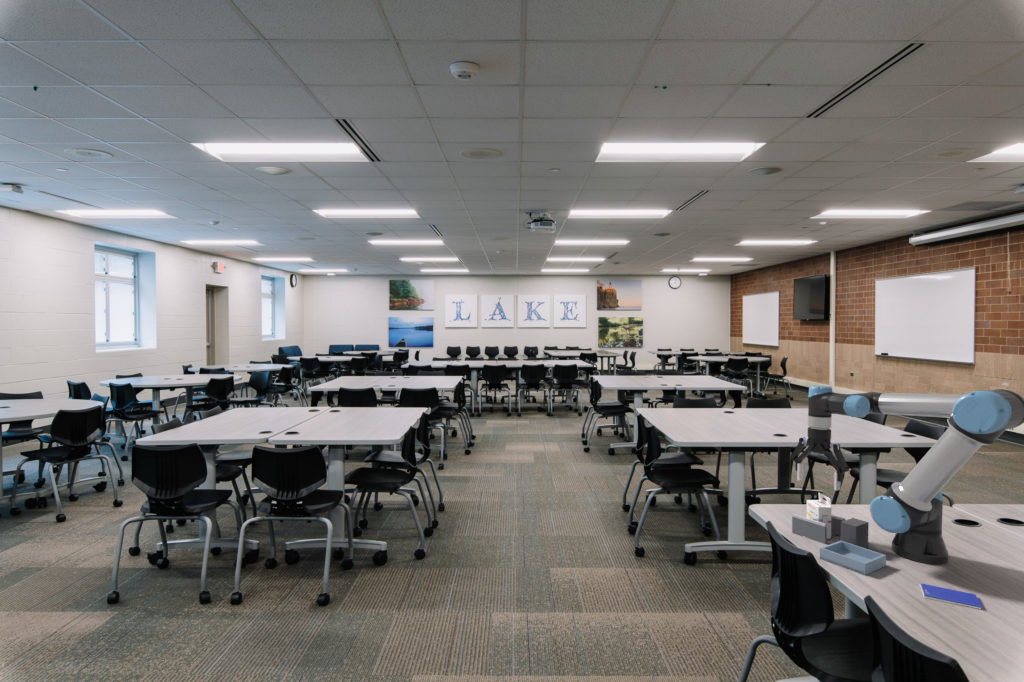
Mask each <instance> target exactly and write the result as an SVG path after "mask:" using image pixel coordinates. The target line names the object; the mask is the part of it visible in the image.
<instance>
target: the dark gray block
mask: <svg viewBox="0 0 1024 682" xmlns="http://www.w3.org/2000/svg"><path fill="white" fill-rule="evenodd" d="M840 541H844V542H847V543H850V544H853V545H857V546H860V547H863V548H867V549H869V522H868V521H865V520H862V519H858V518H854V517H851V518H848V519H845V521H842V522H841V536H840Z"/></svg>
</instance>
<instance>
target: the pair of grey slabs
mask: <svg viewBox="0 0 1024 682" xmlns="http://www.w3.org/2000/svg"><path fill="white" fill-rule="evenodd" d="M791 516H792V517H791V518H792V520H791V526H792V527H791V533H792V534H795V535H798V536H801V537H803V536H805V537H804V538H806V537H807V539H810V540H813V541H815V542H818V543H822V544H827V539H826V536H827V524H825V523H822V522H818V521H815V520H812V519H809V518H806V517H805V516H802V515H798V514H797V513H793V514H792V515H791ZM845 520H846V518H845V517H842V516H839V515H836V514H832V513H831V535H835V536H838V537H841V522H842V521H845Z"/></svg>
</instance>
